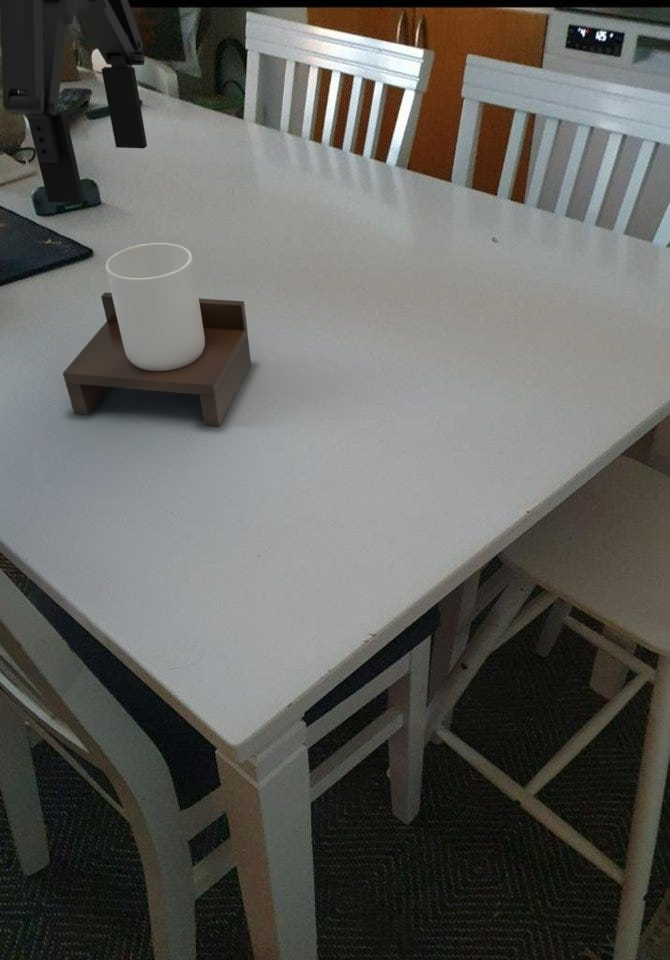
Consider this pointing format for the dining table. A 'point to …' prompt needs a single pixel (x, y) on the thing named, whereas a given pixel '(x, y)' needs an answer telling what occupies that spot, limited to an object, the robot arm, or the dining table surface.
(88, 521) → the dining table surface
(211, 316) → the shelf
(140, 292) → the cup
